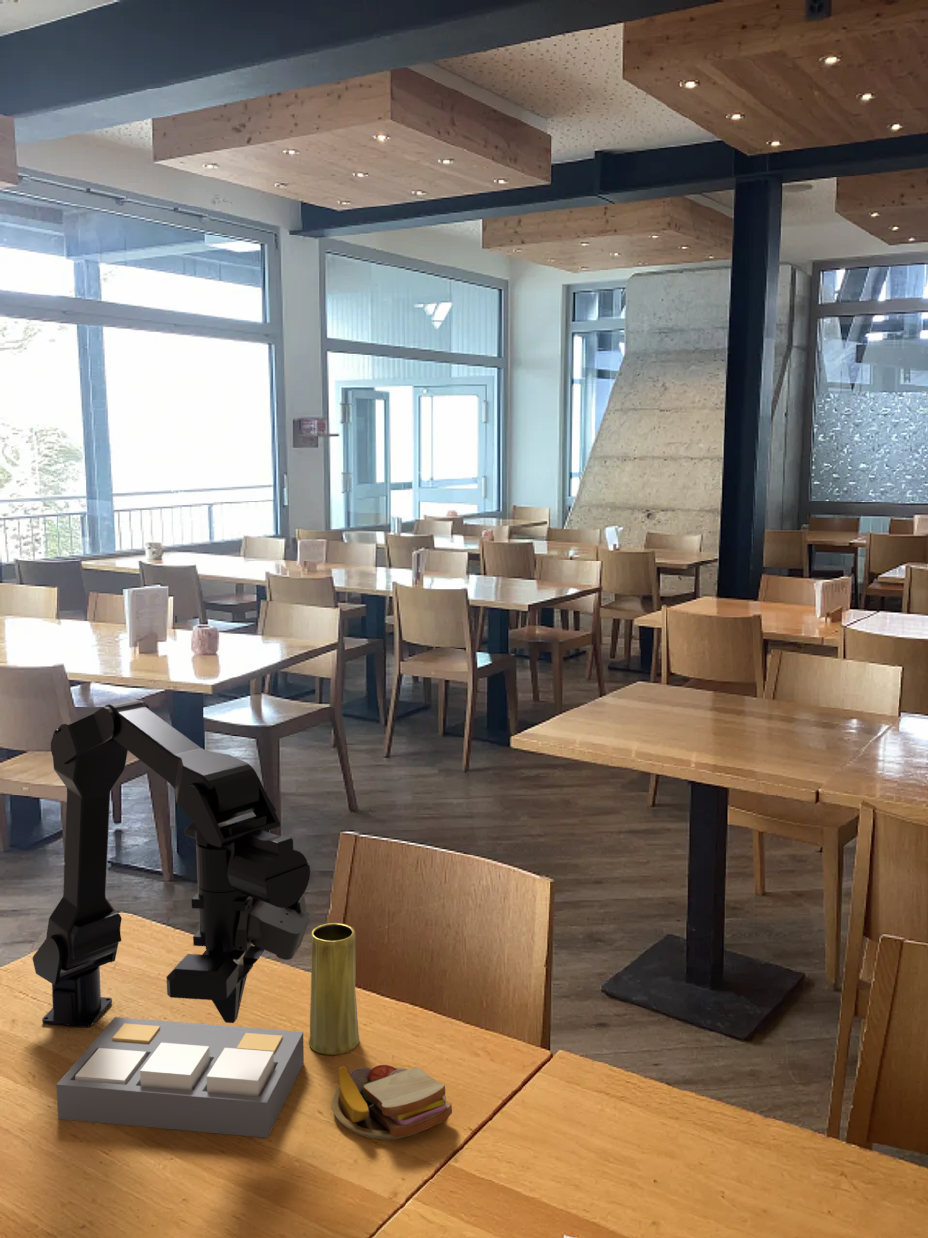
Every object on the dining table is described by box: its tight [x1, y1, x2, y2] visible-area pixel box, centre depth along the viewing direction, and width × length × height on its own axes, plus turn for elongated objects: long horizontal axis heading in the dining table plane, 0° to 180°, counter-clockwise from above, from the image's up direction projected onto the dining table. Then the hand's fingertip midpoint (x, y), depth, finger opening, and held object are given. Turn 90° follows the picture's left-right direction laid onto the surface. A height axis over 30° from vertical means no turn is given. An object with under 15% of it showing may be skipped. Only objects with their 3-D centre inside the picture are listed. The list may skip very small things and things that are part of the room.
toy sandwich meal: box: [331, 1064, 453, 1140], centre depth 116 cm, size 12×14×5 cm
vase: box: [308, 922, 360, 1056], centre depth 129 cm, size 6×6×14 cm
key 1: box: [75, 1048, 146, 1085], centre depth 117 cm, size 6×6×2 cm
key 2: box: [207, 1048, 274, 1096], centre depth 115 cm, size 6×6×2 cm
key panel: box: [55, 1016, 305, 1139], centre depth 119 cm, size 23×14×4 cm, turn 83°
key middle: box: [140, 1043, 210, 1090], centre depth 116 cm, size 6×6×2 cm
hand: (231, 1021), depth 114 cm, fingers closed
